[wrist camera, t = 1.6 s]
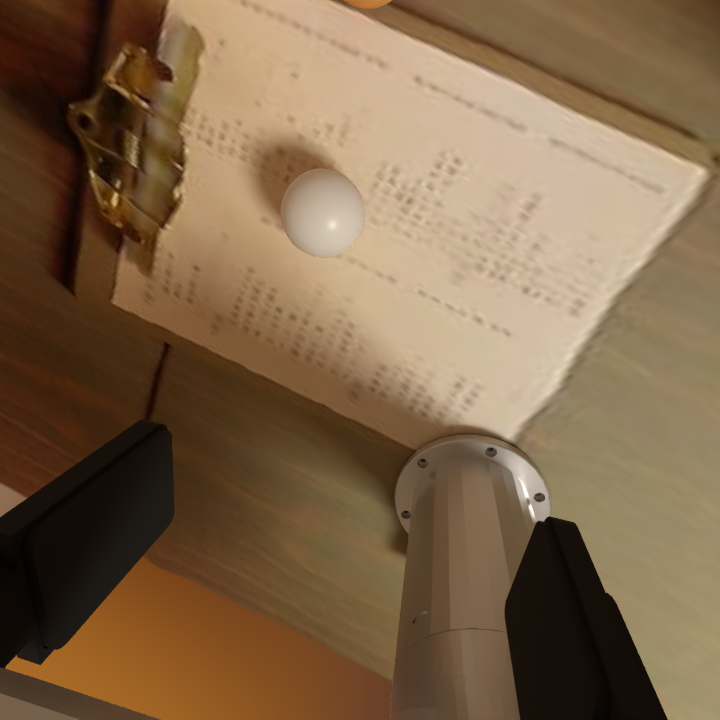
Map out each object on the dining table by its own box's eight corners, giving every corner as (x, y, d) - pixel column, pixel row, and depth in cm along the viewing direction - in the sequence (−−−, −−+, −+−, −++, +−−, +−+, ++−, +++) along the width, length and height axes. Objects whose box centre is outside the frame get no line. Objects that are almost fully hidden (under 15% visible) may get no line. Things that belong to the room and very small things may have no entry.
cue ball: (362, 261, 30) (346, 271, 25) (292, 244, 31) (262, 250, 26) (379, 181, 28) (364, 174, 23) (303, 165, 29) (273, 154, 23)
